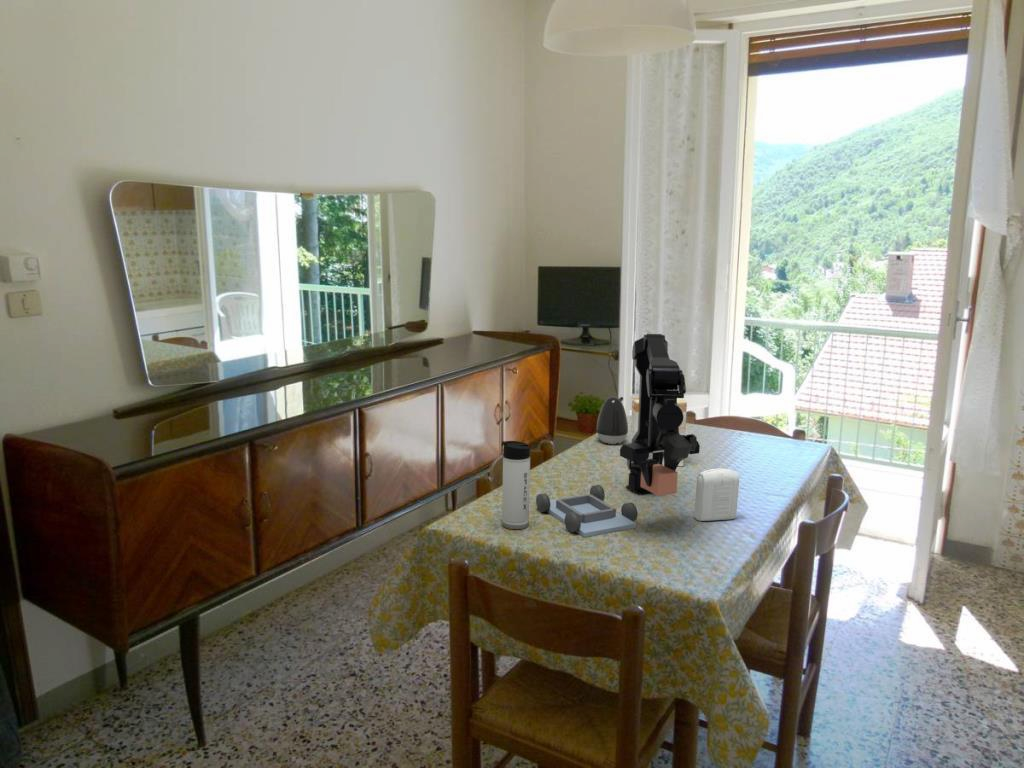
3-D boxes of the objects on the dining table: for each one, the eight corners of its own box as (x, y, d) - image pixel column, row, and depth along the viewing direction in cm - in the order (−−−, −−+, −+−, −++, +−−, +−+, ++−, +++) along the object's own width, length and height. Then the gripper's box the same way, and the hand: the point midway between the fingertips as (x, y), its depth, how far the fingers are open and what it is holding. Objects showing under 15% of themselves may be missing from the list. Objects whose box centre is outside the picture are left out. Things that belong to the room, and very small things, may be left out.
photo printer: (730, 513, 186) (733, 465, 184) (739, 520, 182) (742, 470, 179) (691, 516, 184) (694, 467, 181) (699, 523, 180) (702, 473, 177)
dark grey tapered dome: (633, 442, 248) (635, 396, 245) (616, 448, 241) (618, 401, 238) (607, 436, 255) (609, 392, 252) (589, 442, 247) (591, 396, 244)
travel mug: (499, 520, 179) (500, 438, 176) (527, 519, 180) (529, 438, 176) (501, 530, 173) (502, 446, 169) (530, 529, 174) (531, 445, 170)
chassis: (591, 496, 196) (591, 480, 195) (641, 526, 177) (642, 508, 176) (532, 506, 189) (532, 489, 188) (578, 538, 169) (579, 519, 169)
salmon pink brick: (658, 483, 180) (659, 463, 179) (676, 493, 174) (677, 472, 173) (640, 486, 178) (641, 466, 177) (658, 496, 172) (659, 474, 171)
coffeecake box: (678, 460, 230) (681, 397, 226) (684, 467, 223) (687, 402, 219) (628, 459, 229) (631, 396, 225) (633, 467, 222) (636, 401, 218)
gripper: (649, 431, 161) (646, 501, 164) (718, 423, 169) (713, 489, 172) (620, 419, 171) (617, 486, 174) (685, 412, 179) (682, 475, 182)
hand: (658, 484), depth 175 cm, fingers closed on salmon pink brick, 5 cm apart
